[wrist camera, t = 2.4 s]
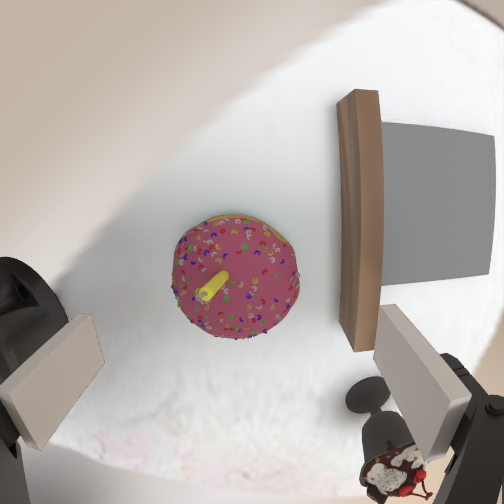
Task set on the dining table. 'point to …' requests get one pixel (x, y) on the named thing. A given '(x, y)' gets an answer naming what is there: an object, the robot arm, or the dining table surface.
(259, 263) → the cupcake
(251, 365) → the dining table surface
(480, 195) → the board
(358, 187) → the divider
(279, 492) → the dining table surface
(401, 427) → the sundae
